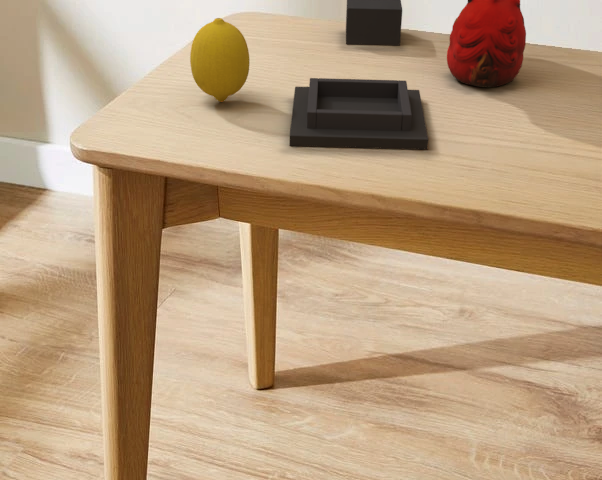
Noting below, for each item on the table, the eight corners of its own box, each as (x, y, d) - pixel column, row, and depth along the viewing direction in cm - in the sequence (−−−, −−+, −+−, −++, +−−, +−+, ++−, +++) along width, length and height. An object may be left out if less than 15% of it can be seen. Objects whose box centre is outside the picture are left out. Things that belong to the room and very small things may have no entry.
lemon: (224, 87, 97) (221, 6, 92) (262, 102, 93) (261, 19, 89) (180, 100, 94) (175, 17, 89) (217, 117, 90) (214, 31, 86)
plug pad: (397, 30, 113) (399, -5, 111) (399, 45, 108) (402, 9, 106) (345, 29, 113) (347, -6, 111) (345, 44, 109) (347, 8, 106)
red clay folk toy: (517, 70, 102) (538, -81, 94) (523, 94, 96) (546, -64, 88) (444, 66, 103) (458, -84, 95) (445, 90, 97) (461, -68, 89)
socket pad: (418, 99, 95) (420, 74, 93) (427, 150, 85) (430, 122, 83) (295, 96, 95) (295, 71, 94) (289, 146, 85) (289, 119, 84)
